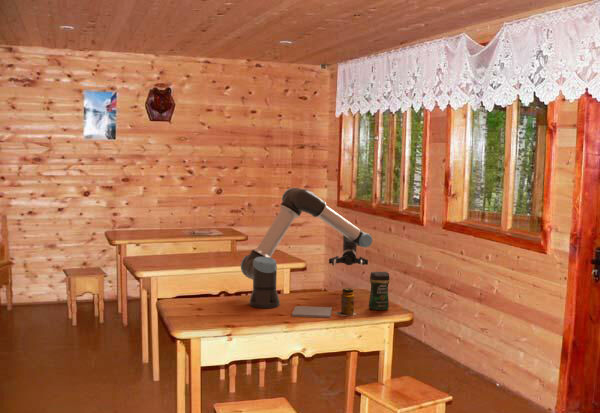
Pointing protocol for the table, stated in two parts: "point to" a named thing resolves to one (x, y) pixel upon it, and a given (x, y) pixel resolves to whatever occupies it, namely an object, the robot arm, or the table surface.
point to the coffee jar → (379, 291)
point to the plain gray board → (312, 311)
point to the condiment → (347, 302)
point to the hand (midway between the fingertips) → (347, 264)
